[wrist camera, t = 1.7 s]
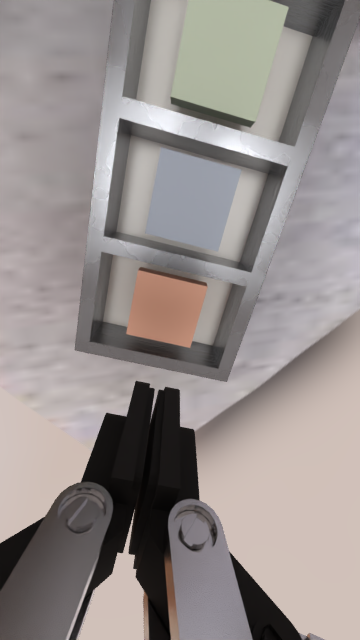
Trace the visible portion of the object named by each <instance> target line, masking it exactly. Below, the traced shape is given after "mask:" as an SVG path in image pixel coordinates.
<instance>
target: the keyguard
mask: <svg viewBox="0 0 360 640" xmlns="http://www.w3.org/2000/svg"><path fill="white" fill-rule="evenodd" d="M270 1H273V2H276V3H279V4H282V5H284V6H287V7H289V8H288V12H287V15H286V18H285V22H284V25H283V26H284V27H287V28H290V29H293V30H296V31H299V32H302V33H305V34H308V35H311V36H313V37H312V40H311V43H310V46H309V49H308V52H307V55H306V59H305V62H304V65H303V68H302V71H301V74H300V77H299V80H298V83H297V86H296V90H295V93H294V96H293V99H292V102H291V105H290V108H289V111H288V114H287V117H286V120H285V124H284V127H283V130H282V133H281V136H280V139H279V142H276V141H273V140H269V139H266V138H263V137H259V136H256V135H252V134H249V133H246V132H242V131H239V130H235V129H232V128H229V127H225V126H222V125H218V124H215V123H212V122H208V121H205V120H201V119H198V118H195V117H191V116H188V115H184V114H181V113H178V112H174V111H171V110H168V109H164V108H161V107H157V106H154V105H151V104H147V103H144V102H140V101H137V100H136V97H137V91H138V84H139V77H140V71H141V64H142V57H143V50H144V44H145V37H146V30H147V24H148V17H149V10H150V3H151V0H114V3H113V12H112V21H111V30H110V39H109V48H108V57H107V66H106V75H105V84H104V93H103V101H102V110H101V119H100V128H99V137H98V146H97V155H96V164H95V173H94V182H93V191H92V200H91V209H90V218H89V227H88V236H87V245H86V254H85V262H84V271H83V280H82V289H81V298H80V307H79V316H78V325H77V334H76V343H75V350H76V351H81V352H85V353H90V354H95V355H100V356H105V357H109V358H114V359H119V360H124V361H129V362H134V363H138V364H143V365H148V366H153V367H158V368H162V369H167V370H172V371H177V372H182V373H186V374H191V375H196V376H201V377H206V378H210V379H215V380H220V381H225V382H227V380H228V377H229V374H230V372H231V369H232V366H233V363H234V361H235V358H236V355H237V352H238V350H239V347H240V344H241V341H242V339H243V336H244V333H245V331H246V328H247V325H248V322H249V320H250V317H251V314H252V311H253V309H254V306H255V303H256V300H257V298H258V295H259V292H260V289H261V287H262V284H263V281H264V278H265V276H266V273H267V270H268V268H269V265H270V262H271V259H272V257H273V254H274V251H275V248H276V246H277V243H278V240H279V237H280V235H281V232H282V229H283V226H284V224H285V221H286V218H287V215H288V213H289V210H290V207H291V205H292V202H293V199H294V196H295V194H296V191H297V188H298V185H299V183H300V180H301V177H302V174H303V172H304V169H305V166H306V163H307V161H308V158H309V155H310V152H311V150H312V147H313V144H314V142H315V139H316V136H317V133H318V131H319V128H320V125H321V122H322V120H323V117H324V114H325V111H326V109H327V106H328V103H329V100H330V98H331V95H332V92H333V90H334V87H335V84H336V81H337V79H338V76H339V73H340V70H341V68H342V65H343V62H344V59H345V57H346V54H347V51H348V48H349V46H350V43H351V40H352V37H353V35H354V32H355V29H356V27H357V24H358V21H359V18H360V0H270ZM131 135H132V136H136V137H139V138H143V139H146V140H150V141H153V142H157V143H161V144H164V145H168V146H171V147H175V148H178V149H182V150H185V151H189V152H192V153H196V154H199V155H203V156H207V157H210V158H214V159H217V160H221V161H224V162H228V163H231V164H235V165H238V166H242V167H245V168H249V169H253V170H256V171H260V172H263V173H267V174H268V176H267V179H266V182H265V185H264V189H263V192H262V195H261V198H260V201H259V204H258V207H257V210H256V213H255V216H254V219H253V223H252V226H251V229H250V232H249V235H248V238H247V241H246V244H245V247H244V250H243V253H242V257H241V260H240V262H237V261H233V260H229V259H225V258H221V257H217V256H213V255H209V254H205V253H201V252H197V251H193V250H189V249H185V248H181V247H177V246H173V245H169V244H165V243H161V242H157V241H153V240H149V239H144V238H140V237H136V236H132V235H128V234H124V233H120V232H116V231H117V225H118V218H119V211H120V205H121V198H122V191H123V185H124V178H125V171H126V164H127V158H128V151H129V144H130V138H131ZM113 255H117V256H121V257H125V258H130V259H134V260H138V261H142V262H146V263H150V264H154V265H159V266H163V267H167V268H171V269H175V270H179V271H183V272H188V273H192V274H196V275H200V276H204V277H208V278H212V279H216V280H221V281H225V282H229V283H233V284H232V288H231V291H230V294H229V297H228V300H227V303H226V306H225V309H224V312H223V315H222V318H221V322H220V325H219V328H218V331H217V334H216V337H215V340H214V343H213V346H212V345H208V344H203V343H199V342H194V341H192V343H191V347H190V348H188V347H184V346H179V345H174V344H170V343H165V342H161V341H156V340H151V339H147V338H142V337H137V336H133V335H128V334H126V332H127V327H126V326H121V325H117V324H112V323H107V322H103V319H104V312H105V305H106V299H107V292H108V285H109V278H110V272H111V265H112V258H113Z"/></svg>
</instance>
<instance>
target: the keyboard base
mask: <svg viewBox="0 0 360 640" xmlns="http://www.w3.org/2000/svg"><path fill="white" fill-rule="evenodd" d="M187 5H188V0H151V3H150V10H149V17H148V24H147V30H146V37H145V44H144V50H143V57H142V64H141V71H140V77H139V84H138V91H137V97H136V100H137V101H140V102H144V103H147V104H151V105H154V106H157V107H161V108H164V109H168V110H171V111H174V112H178V113H181V114H184V115H188V116H191V117H195V118H198V119H201V120H205V121H208V122H212V123H215V124H218V125H222V126H225V127H229V128H232V129H235V130H239V131H242V132H246V133H249V134H252V135H256V136H259V137H263V138H266V139H269V140H273V141H276V142H279V139H280V136H281V133H282V130H283V127H284V124H285V120H286V117H287V114H288V111H289V108H290V105H291V102H292V99H293V96H294V93H295V90H296V86H297V83H298V80H299V77H300V74H301V71H302V68H303V65H304V62H305V59H306V55H307V52H308V49H309V46H310V43H311V40H312V37H313V36H311V35H308V34H305V33H302V32H299V31H296V30H293V29H290V28H287V27H284V26H283V29H282V32H281V36H280V39H279V43H278V46H277V50H276V53H275V56H274V60H273V63H272V67H271V70H270V74H269V77H268V81H267V84H266V88H265V91H264V94H263V98H262V101H261V105H260V108H259V112H258V115H257V119H256V122H255V123H254V124H253V125H252V127H251V128H250V127H247V126H243V125H240V124H237V123H233V122H230V121H226V120H223V119H220V118H216V117H213V116H210V115H206V114H203V113H199V112H196V111H193V110H189V109H186V108H183V107H179V106H176V105H173V104H171V97H170V96H171V91H172V86H173V80H174V75H175V70H176V64H177V59H178V54H179V48H180V43H181V37H182V32H183V27H184V21H185V16H186V11H187ZM161 147H162V148H165V149H169V150H173V151H176V152H180V153H183V154H187V155H190V156H194V157H197V158H201V159H205V160H208V161H212V162H215V163H219V164H222V165H226V166H229V167H233V168H237V169H240V170H241V174H240V177H239V181H238V184H237V188H236V191H235V195H234V198H233V202H232V205H231V208H230V212H229V215H228V219H227V222H226V226H225V229H224V233H223V236H222V240H221V243H220V246H219V250H218V252H217V251H213V250H209V249H205V248H201V247H197V246H193V245H189V244H185V243H181V242H177V241H173V240H169V239H165V238H162V237H158V236H154V235H150V234H146V233H145V230H146V225H147V220H148V214H149V209H150V203H151V198H152V193H153V187H154V182H155V177H156V171H157V166H158V161H159V155H160V150H161ZM267 176H268V174H267V173H263V172H260V171H256V170H253V169H249V168H245V167H242V166H238V165H235V164H231V163H228V162H224V161H221V160H217V159H214V158H210V157H207V156H203V155H199V154H196V153H192V152H189V151H185V150H182V149H178V148H175V147H171V146H168V145H164V144H161V143H157V142H153V141H150V140H146V139H143V138H139V137H136V136H132V135H131V138H130V144H129V151H128V158H127V164H126V171H125V178H124V185H123V191H122V198H121V205H120V211H119V218H118V225H117V231H116V232H120V233H124V234H128V235H132V236H136V237H140V238H144V239H149V240H153V241H157V242H161V243H165V244H169V245H173V246H177V247H181V248H185V249H189V250H193V251H197V252H201V253H205V254H209V255H213V256H217V257H221V258H225V259H229V260H233V261H237V262H240V260H241V257H242V253H243V250H244V247H245V244H246V241H247V238H248V235H249V232H250V229H251V226H252V223H253V219H254V216H255V213H256V210H257V207H258V204H259V201H260V198H261V195H262V192H263V189H264V185H265V182H266V179H267ZM140 267H144V268H148V269H152V270H156V271H160V272H164V273H169V274H173V275H177V276H181V277H185V278H189V279H194V280H198V281H202V282H206V283H207V286H208V288H207V291H206V295H205V298H204V302H203V305H202V309H201V312H200V316H199V319H198V322H197V326H196V329H195V333H194V336H193V340H192V341H194V342H199V343H203V344H208V345H212V346H213V343H214V340H215V337H216V334H217V331H218V328H219V325H220V322H221V318H222V315H223V312H224V309H225V306H226V303H227V300H228V297H229V294H230V291H231V288H232V284H233V283H229V282H225V281H221V280H216V279H212V278H208V277H204V276H200V275H196V274H192V273H188V272H183V271H179V270H175V269H171V268H167V267H163V266H159V265H154V264H150V263H146V262H142V261H138V260H134V259H130V258H125V257H121V256H117V255H113V258H112V265H111V272H110V278H109V285H108V292H107V299H106V305H105V312H104V319H103V322H107V323H112V324H117V325H121V326H126V327H128V321H129V316H130V311H131V305H132V300H133V294H134V289H135V284H136V278H137V273H138V269H139V268H140Z"/></svg>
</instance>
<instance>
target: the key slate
mask: <svg viewBox="0 0 360 640" xmlns="http://www.w3.org/2000/svg"><path fill="white" fill-rule="evenodd" d="M240 174H241V170H240V169H237V168H233V167H229V166H226V165H222V164H219V163H215V162H212V161H208V160H205V159H201V158H197V157H194V156H190V155H187V154H183V153H180V152H176V151H173V150H169V149H165V148H162V147H161V150H160V155H159V161H158V166H157V171H156V177H155V182H154V187H153V193H152V198H151V203H150V209H149V214H148V220H147V225H146V230H145V233H146V234H150V235H154V236H158V237H162V238H165V239H169V240H173V241H177V242H181V243H185V244H189V245H193V246H197V247H201V248H205V249H209V250H213V251H217V252H218V250H219V246H220V243H221V240H222V236H223V233H224V229H225V226H226V222H227V219H228V215H229V212H230V208H231V205H232V202H233V198H234V195H235V191H236V188H237V184H238V181H239V177H240Z"/></svg>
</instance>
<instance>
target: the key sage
mask: <svg viewBox="0 0 360 640" xmlns="http://www.w3.org/2000/svg"><path fill="white" fill-rule="evenodd" d="M288 8H289V7H287V6H284V5H282V4H279V3H276V2H273V1H270V0H188V5H187V11H186V16H185V21H184V27H183V32H182V37H181V43H180V48H179V54H178V59H177V64H176V70H175V75H174V80H173V86H172V91H171V96H170V97H171V104H173V105H176V106H179V107H183V108H186V109H189V110H193V111H196V112H199V113H203V114H206V115H210V116H213V117H216V118H220V119H223V120H226V121H230V122H233V123H237V124H240V125H243V126H247V127H250V128H251V127H252V125H253V124H254V123H255V122H256V119H257V115H258V112H259V108H260V105H261V101H262V98H263V94H264V91H265V88H266V84H267V81H268V77H269V74H270V70H271V67H272V63H273V60H274V56H275V53H276V50H277V46H278V43H279V39H280V36H281V32H282V29H283V25H284V22H285V18H286V15H287V12H288Z"/></svg>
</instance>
